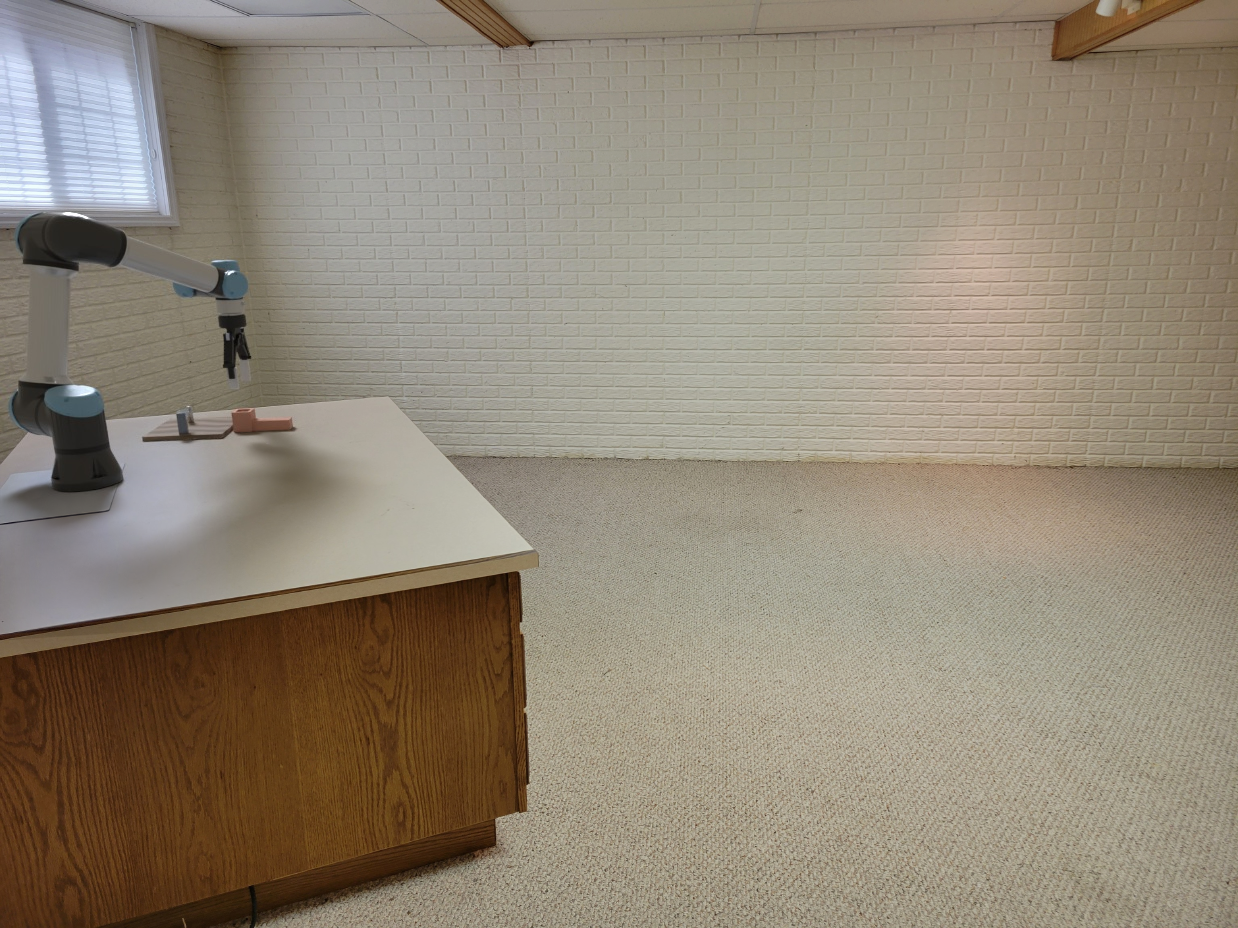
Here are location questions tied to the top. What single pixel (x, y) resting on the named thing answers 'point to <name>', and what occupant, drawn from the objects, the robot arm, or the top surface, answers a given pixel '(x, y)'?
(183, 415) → the bracket
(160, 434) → the board
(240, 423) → the link
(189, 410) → the peg
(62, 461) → the robot arm
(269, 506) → the top surface
